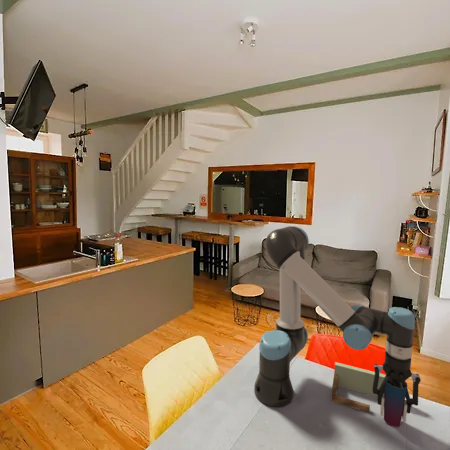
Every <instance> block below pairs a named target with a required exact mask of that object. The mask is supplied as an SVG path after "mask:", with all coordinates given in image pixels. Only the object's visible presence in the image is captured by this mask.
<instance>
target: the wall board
mask: <svg viewBox="0 0 450 450" xmlns="http://www.w3.org/2000/svg"><path fill="white" fill-rule="evenodd" d="M333 372H334V373H333V375H334V374H337V375H338V386H337V387H338V388H344V389H347V390H349V391H353V392H357V393H360V394H364V395H367V396H371V397H374V398H378V395H377V394H374V393H373V388H372V387H373V381H374V375H375V371H372V370H369V369H366V368H365V369H364V368H360V367H356V366H352V365H349V364H345V363H340V362H337V361H335V362H334V371H333ZM385 376H386V374H384V373H379V381H378V387H377V389H378V390H379V388H380V386H381V384H382V382H383V380H384V377H385Z"/></svg>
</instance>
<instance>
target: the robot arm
mask: <svg viewBox="0 0 450 450" xmlns="http://www.w3.org/2000/svg"><path fill="white" fill-rule="evenodd" d="M309 241H310V239H309V236H308V234H307V232H306V231H305V230H304V229H303V228H301V227H299V226H293V225H292V226H285V227H282V228H278V229H274V230H272V231H271V232H269V233H268V235H267V237H266V238H265V242H264V243H265V244H264V246H265V247H264V248H265V251H266V253H267V255H268V257H269V258H270V259H271V262H272V263H273V264H274V265H275V266H276V267H277V268H278V269H279V317H278V318H277V319H276V321H275V329H272V331H271V330H268V331H266V332H264V333H263V334H262V335H261V338H260V341H259V345H258V346H259V361H258V364H259V370H258V371H259V372H258V375H257V377H256V379H255V383H254V386H253V387H254V391H253V392H254V396H255V397H256V399H257V400H258V401H260V402H261V403H262V404H263V405H266V406H269V407H272V408H280V407H285V406H287V405H289V404H290V403H291V402H292V401H293V399H294V388H293V384H292V381H291V378H290V369H291V367H290V366H291V362H292V360H293V359H294V358H295V357H296V356H297V355H298V354H299V353H300V352H301V351H302V350H303V349H304V348H305V346H306V344H308V343H307V342H308V341H309V340H308V339H309V334H308V330H307V328H306V327H305V322H304V320H302V318H301V313H302V312H301V311H302V310H301V307H302V306H301V305H302V303H301V297H302V296H301V289H302V290H303V291H304V293H306V295H308V296H309V298H310V299H311V300H312V301H313V302H314V303H315V305H317V306H318V307H319V308H320V310H322V312H324V313H325V315H327V316H328V318H329V319H330V320H331V321H332V322H333V324H335V326H337V327H338V329H339V330H340V331H341V332H342V338H343V340H344V343H345V344H346V345H347V346H348V347H349V348H351V349H353V350H356V351H363V350H364V349H366V348H367V347H368V346H369V345H370V343H371V342H372V340H373V336H374V335H375V333H379V334H382V335H386V338H385V339H386V342H385V352H384V362H383V363H382V365H380V364H377V363H374V368H373V369H374V372H375V375H374V381H373V387H372V388H373V393H374V394H377V395H378V398H377V397H376V398H377V400H376V401H377V405H379V406H380V407H379V408H380V409H379V411H380V413H379V415H380V416H383V417H384V392H385V382H384V380H383V382H382V384H381V386H380V388H379V390H378V389H377V387H378V381H379V373H380V374H382V371H384V373H385V375H386V376H385V380H386V382H387V383H390V382H391V380H393V381H398V382H401V383H402V386H403V388H405V387H406V383H407V382H406V381H407V380H408V379H409V378H411V380H412V398H411V397H410V394H409V389H408V388H407V390H406V395H405V402H404V408H403V413H402V419H401V421H402V423H404V424H406V423H407V414H411V409H412V406H413V405H414V406H418V405H419V385H420V383H421V381H422V380H421V376H420V374H419V373H413V372H412V371H411V366H412V356H413V354H412V353H413V345H414V344H413V343H414V336H415V327H416V325H415V324H416V316H415V314H414V313H413V312H412V310H409V309H407V308H405V307H400V306H399V307H397V306H393V307H390V308H389V309H388V311H385V310H379V309H376V308H371V307H367V306H365V305H358V304H353V305H352V306H350V305H349V304H348V303H347V302H346V301H345V300H344V299H343V298H342V297H341V296H340V295H339V294H338V293H337V291H335V289H333V288H332V287H331V286H330V284H328V283H327V282H326V281H325V279H323V278H322V277H321V276H320V275H319V274H318V273H317V272H316V271H315V270H314V269H313V268H312V267H311V265H309V263H307V262H306V261H305V259H306V258H305V256H306V255H305V253H306V250H307V248H308V246H309Z"/></svg>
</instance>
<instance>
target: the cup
mask: <svg viewBox="0 0 450 450" xmlns="http://www.w3.org/2000/svg"><path fill="white" fill-rule="evenodd" d="M384 382H385V392H384V410H383V420H384V421H385V423H386V424H387V425H389V426H390V427H394V428H399V427H400V426H401V424H402V413H403V408H404V402H405V400H406V397H405V395H406V390H407V389H408V383H407V382H406V387H405V388H403V386H402V383H401V382H398V381H393V380H391V382H390V383H387V382H386V380H385V377H384Z"/></svg>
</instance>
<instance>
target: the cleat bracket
mask: <svg viewBox="0 0 450 450" xmlns="http://www.w3.org/2000/svg"><path fill="white" fill-rule="evenodd" d="M338 387H339V386H338V375H337V374H334V373H333V380H332V387H331V400H330V401H331V402H333V403H335V404H336V403H337V404H340V405H342V406H345V407H347V408H352V409H355V410H359V411H361V412H365V413H368V414H370V410H371V405H370V404H367V403H365V402H360V401H357V400H354V399H350V398H348V397H344V396H341V395H338V394H337V392H338Z"/></svg>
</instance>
